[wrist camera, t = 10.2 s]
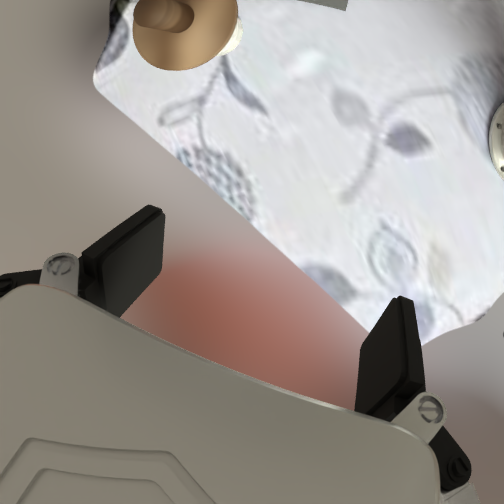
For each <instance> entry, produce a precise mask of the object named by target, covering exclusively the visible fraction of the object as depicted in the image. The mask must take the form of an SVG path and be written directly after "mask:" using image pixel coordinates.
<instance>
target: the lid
mask: <svg viewBox="0 0 504 504" xmlns="http://www.w3.org/2000/svg"><path fill="white" fill-rule="evenodd" d="M133 16H134V21H133V39H134V43H135V46H136V48H137V50H138V52H139V53H140V55H141V56H142V57H143V58H144V59H145V60H146V61H147V62H148V63H150V64H151V65H153V66H155V67H157V68H160V69H164V70H176V71H181V70H188V69H192V68H195V67H198V66H200V65H202V64H204V63H206V62H208V61H209V60H211V59H212V58H214V57H215V56H216V55H217V54H218V53H219V52H220V51H221V50H222V49H223V48H224V47H225V46H226V44H227V43H228V42H229V40H230V38H231V37H232V34H233V32H234V30H235V27H236V24H237V18H238V6H237V1H236V0H139V2H138V3H137V4H136V6H135V9H134V13H133Z"/></svg>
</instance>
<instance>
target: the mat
mask: <svg viewBox="0 0 504 504" xmlns="http://www.w3.org/2000/svg"><path fill="white" fill-rule="evenodd" d="M299 1H304V2H309V3H314V4H319V5H323V6H328V7H332V8H336V9H340V10H344V11H346V7H347V3H348V0H299Z"/></svg>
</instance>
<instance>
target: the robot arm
mask: <svg viewBox="0 0 504 504" xmlns="http://www.w3.org/2000/svg"><path fill="white" fill-rule="evenodd" d="M496 124H498V125H497V126H496ZM489 148H490V154H491V158H492V162H493V164H494V167H495V169H496V171H497V172H498V174H499V176H500V177H501V178H502V179H503V180H504V102H503V103H502V104H501V105H500V107H499V108H498V109H497V111H496V112H495V114H494V116H493V119H492V122H491V126H490V131H489ZM164 226H165V214H164V213H163V211H162V209H160V208H158V207H155V206H152V205H147V206H145V207H144V208H142V209H141V210H140V211H138V212H136V213H135V214H134V215H132V216H131V217H130V218H128V219H127V220H125V221H124V222H122V223H121V224H119V225H118V226H117V227H115V228H114V229H113V230H111V231H110V232H108V233H107V234H106V235H104V236H103V237H102V238H100V239H99V240H98V241H96V242H95V243H94V244H92V245H91V246H90V247H88V248H87V249H86V250H84V251H83V252H82V256H81V257H79V258H77V257H76V256H74V255H73V254H70V253H58V254H55V255H52V256H51V257H49V258H48V259H47V260H46V261H45V262H44V265H43V268H42V269H41V270H32V271H24V272H16V273H7V274H3V275H1V276H0V504H480V501H479V498H478V496H477V493H476V490H475V488H474V485H473V483H471V484H469V482H468V480H469V478H470V476H471V463H470V461H469V459H468V457H467V456H466V454H465V453H464V452H463V451H462V449H461V448H460V447H459V445H458V444H457V443H456V441H455V440H454V439H453V438H452V436H451V435H450V434H449V433H448V431H447V430H446V429H445V428H444V426H443V424H444V422H445V420H446V417H447V412H446V408H445V405H444V403H443V402H442V400H441V399H440V398H439V397H438V396H437V395H435V394H433V393H430V392H426V388H425V376H424V367H423V358H422V349H421V342H420V339H419V333H418V326H417V320H416V314H415V308H414V302H413V300H410V299H408V298H405V297H403V296H398V297H397V298H393V299H392V300H391V302H390V303H389V305H388V306H387V308H386V309H385V311H384V312H383V314H382V316H381V317H380V319H379V320H378V322H377V323H376V325H375V326H374V328H373V329H372V330H371V332H370V333H369V335H368V336H367V338H366V339H365V341H364V342H363V344H362V346H361V349H360V358H359V371H358V382H357V393H356V401H355V410H354V411H352V410H348V409H345V408H342V407H338V406H335V405H332V404H329V403H325V402H322V401H319V400H316V399H312V398H309V397H306V396H303V395H300V394H297V393H294V392H291V391H288V390H285V389H282V388H280V387H277V386H274V385H271V384H268V383H266V382H263V381H260V380H258V379H255V378H252V377H250V376H247V375H244V374H242V373H239V372H237V371H234V370H232V369H229V368H227V367H224V366H222V365H219V364H217V363H215V362H212V361H210V360H207V359H205V358H203V357H200V356H198V355H196V354H193V353H191V352H189V351H187V350H185V349H182V348H180V347H178V346H176V345H174V344H171V343H169V342H167V341H165V340H163V339H161V338H158V337H156V336H155V335H152V334H150V333H148V332H146V331H144V330H142V329H140V328H138V327H136V326H134V325H132V324H130V323H128V322H126V321H124V320H123V319H121V318H120V317H121V315H122V314H123V313H124V312H125V311H126V310H127V309H128V308H129V307H130V305H131V304H132V303H133V302H134V301H135V300H136V299H137V298H138V297H139V296H140V295H141V293H142V292H143V291H144V290H145V289H146V288H147V287H148V286H149V285H150V283H152V281H153V280H154V279H155V278H156V277H157V276H158V275H159V273H160V272H161V269H162V258H163V241H164V228H165V227H164Z"/></svg>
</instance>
